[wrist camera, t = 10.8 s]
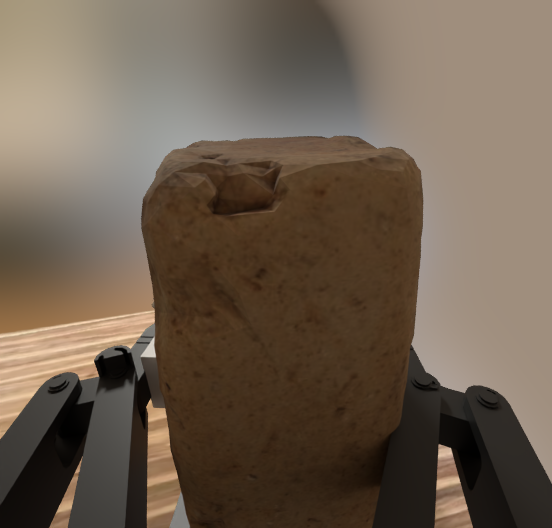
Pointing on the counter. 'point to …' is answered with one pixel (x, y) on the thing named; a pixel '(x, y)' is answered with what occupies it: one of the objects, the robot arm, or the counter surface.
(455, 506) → the counter surface
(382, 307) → the block
